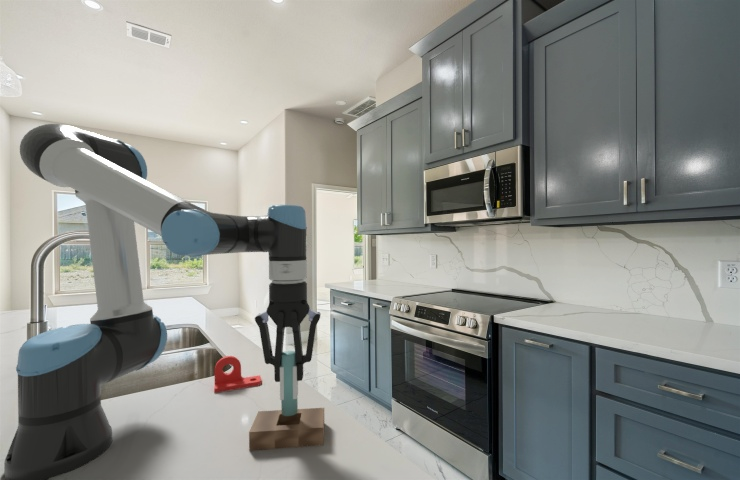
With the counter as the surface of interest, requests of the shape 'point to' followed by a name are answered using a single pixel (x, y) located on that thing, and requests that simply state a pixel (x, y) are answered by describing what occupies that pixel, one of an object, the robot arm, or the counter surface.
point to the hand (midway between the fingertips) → (289, 396)
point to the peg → (288, 384)
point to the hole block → (287, 429)
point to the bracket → (232, 376)
